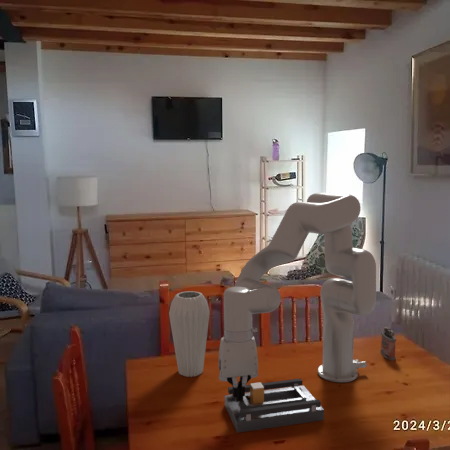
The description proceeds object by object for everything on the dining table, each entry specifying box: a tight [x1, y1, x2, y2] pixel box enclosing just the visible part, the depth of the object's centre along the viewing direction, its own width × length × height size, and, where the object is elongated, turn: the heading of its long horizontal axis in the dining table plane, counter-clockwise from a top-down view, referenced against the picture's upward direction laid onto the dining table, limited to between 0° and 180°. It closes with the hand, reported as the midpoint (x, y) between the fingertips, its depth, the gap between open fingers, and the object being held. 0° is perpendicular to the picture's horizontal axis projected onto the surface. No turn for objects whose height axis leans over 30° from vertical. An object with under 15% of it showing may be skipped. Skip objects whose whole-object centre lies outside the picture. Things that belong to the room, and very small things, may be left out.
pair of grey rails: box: [227, 378, 322, 421], centre depth 128 cm, size 22×14×2 cm, turn 103°
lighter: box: [380, 326, 397, 361], centre depth 165 cm, size 8×3×10 cm, turn 6°
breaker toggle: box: [249, 381, 264, 404], centre depth 127 cm, size 3×3×5 cm
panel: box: [224, 384, 325, 434], centre depth 128 cm, size 24×14×5 cm, turn 103°
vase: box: [168, 290, 211, 378], centre depth 153 cm, size 13×13×26 cm
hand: (238, 398), depth 126 cm, fingers closed
